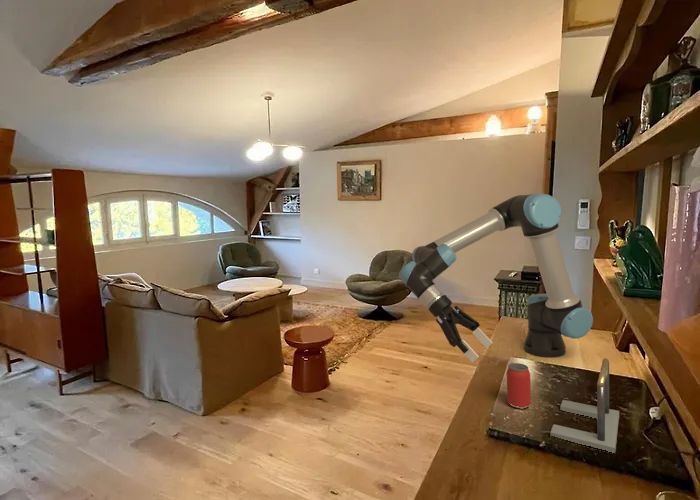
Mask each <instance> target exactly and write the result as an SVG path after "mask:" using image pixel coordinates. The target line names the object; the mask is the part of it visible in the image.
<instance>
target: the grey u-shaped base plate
mask: <svg viewBox="0 0 700 500" xmlns="http://www.w3.org/2000/svg"><path fill="white" fill-rule="evenodd" d="M559 408H560V410H563V411H566V412H571V413H575V414H574V415H576V414H579V415H578V416H580V415H584V416H583V417H585V416H589V417H588V418H590V417H592V418H591V419H594V418H596V419H595V420H597V405H596V406H595V405H591V404H587V403H580V402H576V401H575V402H574V401H571V400H567V399H562V401H561V404H560V407H559ZM566 412H565V413H566ZM571 413H570V414H571ZM619 421H620V410H616V409H610V408H609V414H605V441H600V440H598V439H597V433H594V432H589V431H585V430H580V429H576V428H572V427H568V426H564V425H559V424H553V425H552V427H551V430H550V433H549V434H550V437H551V436H555V437H558V438H561V439H564V440H568V441H571V442H575V443H578V444H582V445H586V446H591V447H594V448H598V449H602V450H606V451H608V452H607V453H609V452H612V453H611V454H613V453H615V454H616V450H617V441H618V440H617V439H618V431H619V430H618V429H619V424H620V423H619Z"/></svg>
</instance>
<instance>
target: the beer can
mask: <svg viewBox="0 0 700 500" xmlns="http://www.w3.org/2000/svg"><path fill="white" fill-rule="evenodd" d="M507 366H508V367H507V369H506V395H507V396H506V397H507V398H506V399H507V400H508V402H509V403H510V404H512V405H514V406H519V407H525V406H529V405H530V404H531V405H532V398H531V397H532V391H531V389H532V387H531V386H532V385H531V372H530V370H529V366H528V365H526V364H523V363H515V362H514V363H510V364H508V365H507ZM508 402H507V403H508Z"/></svg>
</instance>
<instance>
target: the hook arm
mask: <svg viewBox="0 0 700 500" xmlns="http://www.w3.org/2000/svg"><path fill="white" fill-rule="evenodd" d="M596 398H597V400H596V402H597V404H596V406H597V419H596V421H597V423H596V426H597V427H596V429H597V432H596V434H597V439H598V440H600V441H605V414H609V409H610V361H609V359H608V358H603V359H602V362H601V366H600V371H599V373H598V379H597V383H596Z"/></svg>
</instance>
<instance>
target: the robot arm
mask: <svg viewBox="0 0 700 500" xmlns="http://www.w3.org/2000/svg"><path fill="white" fill-rule="evenodd" d="M561 217H562V207H561V205H560V203H559V201H558V200H557V199H556V198H555V197H554V196H552V195H550V194H547V193H546V194H545V193H531V194H521V195H514V196H512V197H510V198H508V199H506V200H505V201H502V202H501V203H498V204H497V205H495V206H494V207H491V208H489V209H488V212H487V213H486V214H484V215H481V216H480V217H478V218H476V219H475V220H472V221H470V222H468V223H466V224H465V225H462V226H461V227H459V228H457V229H455V230H453V231H451V232H449V233H447V234H445V235H444V236H442V237H440V238H438V239H436V240H434V241H431V242H430V243H428V244H426V245H421V246H416V247H415V248H414V250H413V251H412V254H411V259H412V261H409V262H408V263H406V264H405V265H404V266H403V267H402V268H401V269H400V271H399V272H398V278H400V280H401V281H402V282H403V283H404V285H405V286H406V287H407V288H408V289H409V291H411V293H412V294H413V295H414V296H416V298H417V299H418V300H419V301H420V302H421V305H424V307H425V308H428V311H429V312H430V313H431V314H432V316H433V317H434V318H435V322H436V323H437V324H438V325H439V326H440V329H441V331H442V332H443V334H444V335H445V337H446V340H447V342H448V344H449V345H450V346H452V347H453V348H455V347H456V346H457V347H458V348H459V350H460V351H461V352H462V353H463V354H464V355H465V356H466V357H467V359H468V360H469V361H470V363H473V362H475V361H476V360H477V359H478V358H479V357H480V356H479V355H478V353H476V351H474V349H473V348H472V347H471V346H470V345H469V343H467V342H466V341H465V340H464V339H462V338H461V335H460V332H459V330H458V328H457V324H458V325H460V326H463V327H464V328H466V329H467V330H469V331H472V335H474V337H475V338H476V339H477V340H478V341H479V342H480V344H482V346H483V347H485V349H488V347H490V346H491V345H492V344H493V341H492V339H490V338H489V337H488V336H487V335H486V334H485V333H484V332H483V330H481V328H479V327H480V326H481V325H480V323H479V322H478V321H477V320H476V319H475V318H473V317H472V316H470V315H469V314H467V313H466V312H464V311H463V310H462V309H460V307H458V305H455V306H453V307H452V304H453V302H452V300H451V299H450V297H448V296H447V295H446V294H444V291H443V290H441V288H440V287H439V286H438V285H437V284H436V283H435V281H434V280H435V279H436V278H437V277H439V276H440V275H441V274H442V273H443V272H445V271H446V270H447V269H448V268H449V267H451V266H452V265H453V264H454V263H455V262H456V260H457V255H456V253H457V252H459V251H461V250H463V249H465V248H467V247H469V246H471V245H473V244H475V243H477V242H479V241H480V240H482V239H484V238H486V237H488V236H490V235H492V234H494V233H496V232H504V231H505V230H508V229H511V228H516V227H520V228H521V231H522V234H523V236H524V237H525V238H527V239H529V241H530V244H531V246H532V247H531V248H532V251H533V254H534V258H535V259H536V260H535V261H536V263H537V266H538V269H539V273H540V277H541V280H542V283H543V286H544V291H545V292H546V293H536V294H532V295H529V296H528V298H527V323H528V325H527V327H528V331H527V334H526V337H525V340H524V342H523V343H524V345H523V350H524V351H525V352H527V353H528V354H530V355H532V356H537V357H543V358H556V357H557V358H558V357H561V356H564V355H565V354H566V351H567V347H566V344H565V341H564V338H563V337H565V338H571V339H574V340H575V339H580V338H583V337H584V336H587V334H588V333H589V332H590V330H591V328H592V327H593V324H594V317H593V314H592V312H591V311H590V310H589V309H588V308H586V307H583V303H582V301H581V297H580V296H579V295H577V294H575V293H574V290H573V287H572V283H571V280H570V276H569V272H568V269H567V266H566V262H565V259H564V257H563V253H562V250H561V246H560V243H559V239H558V235H557V231H558V229H559V228H560V226H559V222H560V220H561Z"/></svg>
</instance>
